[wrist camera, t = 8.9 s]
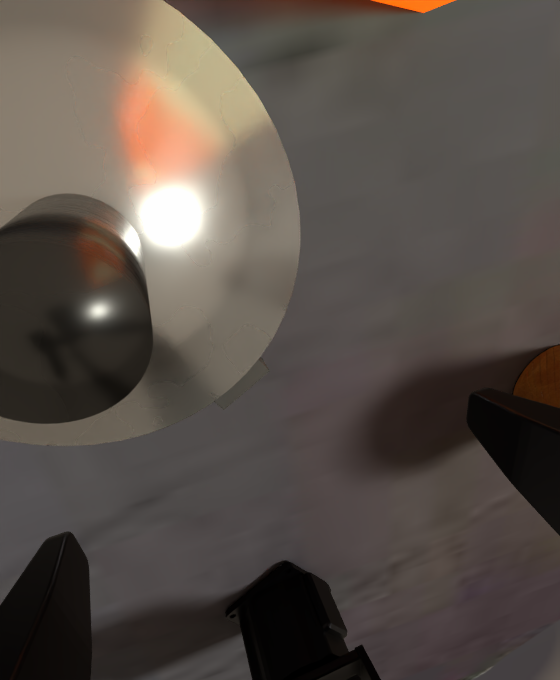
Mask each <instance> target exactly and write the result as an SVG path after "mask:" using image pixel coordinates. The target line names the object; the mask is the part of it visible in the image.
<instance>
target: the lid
mask: <svg viewBox="0 0 560 680" xmlns="http://www.w3.org/2000/svg"><path fill="white" fill-rule="evenodd" d="M299 251H300V214H299V207H298V200H297V194H296V187H295V183H294V180H293V176H292V172H291V169H290V165H289V161H288V158H287V155H286V153H285V150H284V148H283V145H282V143H281V140H280V138H279V136H278V133H277V131H276V128H275V126H274V124H273V123H272V121H271V119H270V117H269V115H268V114H267V112H266V110H265V108H264V106H263V104H262V103H261V101H260V99H259V97H258V96H257V94H256V93H255V92H254V90H253V89H252V88H251V86H250V85H249V83H248V82H247V81H246V79H245V78H244V76H243V75H242V74H241V72H240V71H239V69H238V68H237V67H236V66H235V65H234V64H233V62H232V61H231V60H230V59H229V58H228V57H227V56H226V55H225V54H224V53H223V52H222V50H221V49H220V48H219V47H218V46H217V45H216V44H215V43H214V42H213V41H212V40H211V38H209V37H208V36H207V35H206V34H205V33H204V32H202V31H201V30H200V29H199V28H198V27H197V26H195V25H194V24H193V23H192V22H191V21H190V20H188V19H187V18H186V17H185V16H184V15H183V14H181V13H180V12H179V11H178V10H176V9H175V8H173V7H172V6H170V5H169V4H167V3H166V2H164V1H163V0H0V439H1V440H5V441H12V442H20V443H27V444H34V445H53V446H76V445H94V444H101V443H108V442H115V441H121V440H125V439H129V438H133V437H137V436H141V435H145V434H148V433H151V432H154V431H157V430H159V429H162V428H165V427H168V426H170V425H172V424H174V423H177V422H179V421H181V420H183V419H185V418H187V417H189V416H191V415H193V414H195V413H196V412H198V411H200V410H201V409H203V408H205V407H206V406H208V405H210V404H211V403H212V402H214V401H215V400H216V399H218V398H219V397H220V396H222V395H223V394H224V393H226V392H227V391H228V390H229V389H231V388H232V387H233V386H234V385H235V384H236V383H237V382H238V381H239V380H240V379H241V378H242V377H243V376H244V375H245V374H246V373H247V372H248V371H249V370H250V368H251V367H252V366H253V365H254V364H255V363H256V361H257V360H258V359H259V358H260V357H261V355H262V354H263V352H264V351H265V349H266V348H267V346H268V345H269V343H270V341H271V340H272V338H273V337H274V335H275V333H276V331H277V329H278V327H279V325H280V323H281V321H282V319H283V317H284V315H285V312H286V309H287V306H288V304H289V301H290V298H291V295H292V292H293V288H294V283H295V279H296V274H297V270H298V262H299Z"/></svg>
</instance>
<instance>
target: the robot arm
mask: <svg viewBox="0 0 560 680" xmlns="http://www.w3.org/2000/svg"><path fill="white" fill-rule="evenodd" d="M467 424H468V427H469V428H470V430H471V431H472V433H473V434H474V435H475V437H476V438H477V439H478V441H479V442H480V443H481V445H482V446H483V447H484V448H485V450H486V451H487V452H488V454H489V455H490V456H491V458H492V459H493V460H494V462H495V463H496V464H497V465H498V467H499V468H500V469H501V471H502V472H503V473H504V475H505V476H506V477H507V478H508V480H509V481H510V482H511V483H512V484H513V485H514V487H515V488H516V489H517V490H518V491H519V492H520V493H521V494H522V495H523V496H524V498H525V499H526V500H527V501H528V502H529V503H530V504H531V505H532V506H533V507H534V508H535V510H536V511H537V512H538V513H539V514H540V515H541V516H542V517H543V518H544V519H545V520H546V521H547V523H548V524H549V525H550V526H551V527H552V528H553V529H554V530H555V531H556V532H557V533H558V534H559V536H560V408H558V407H554V406H551V405H547V404H544V403H540V402H537V401H533V400H530V399H526V398H523V397H519V396H515V395H512V394H508V393H505V392H501V391H498V390H494V389H491V388H483V389H480V390H477V391H474V392H472V393H471V394H470V396H469V400H468V409H467ZM225 613H226V618H227V620H229V621H231V622H234V623H236V624H239V625H240V627H241V632H242V636H243V641H244V645H245V650H246V654H247V658H248V663H249V667H250V672H251V676H252V680H381V679H380V677H379V675H378V674H377V672H376V670H375V668H374V666H373V664H372V662H371V660H370V659H369V657H368V655H367V653H366V651H365V649H364V647H363V646H362V645H360V646H358V647H355V650H353V651H351V652H349V651H348V649H347V646H346V644H345V642H344V638H345V637H346V636H347V629H346V627H345V625H344V622H343V620H342V618H341V615H340V613H339V611H338V609H337V606H336V604H335V602H334V599H333V597H332V595H331V589H330V587H329V585H328V584H327V583H326V582H325V581H323V580H322V579H320V578H318V577H317V576H315V575H313V574H312V573H309V572H306V571H305V570H303V569H301V568H300V567H298V566H296V565H295V564H293V563H291V562H286V563H284V564H283V565H281V566H280V567H279V568H278V569H276V570H275V571H274V572H273V573H272V574H270V575H269V576H268V577H267V578H265V579H264V580H263V581H262V582H260V583H259V584H258V585H257V586H256V587H254V588H253V589H252V590H251V591H249V592H248V593H247V594H246V595H244V596H243V597H242V598H241V599H240V600H238V601H237V602H236V603H235V604H233V605H232V606H231V607H230V608H228V609H227V610H226V612H225ZM91 659H92V637H91V609H90V581H89V565H88V560H87V557H86V555H85V554H84V552H83V550H82V548H81V547H80V545H79V543H78V542H77V540H76V538H75V536H74V535H73V534H72V533H71V532H64V533H61V534H58V535H55V536H52V537H49V538H48V539H46V540H45V541H44V543H43V544H42V545H41V547H40V548H39V550H38V551H37V553H36V554H35V556H34V557H33V558H32V560H31V561H30V563H29V564H28V566H27V567H26V569H25V570H24V572H23V573H22V574H21V576H20V577H19V579H18V580H17V582H16V583H15V585H14V586H13V588H12V589H11V590H10V592H9V593H8V595H7V596H6V598H5V599H4V601H3V602H2V604H1V605H0V680H90V676H91Z"/></svg>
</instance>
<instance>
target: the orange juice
mask: <svg viewBox="0 0 560 680" xmlns="http://www.w3.org/2000/svg"><path fill="white" fill-rule="evenodd" d="M372 1H376V2H381V3H385V4H389V5H393V6H397V7H401V8H405V9H410V10H414V11H418V12H422V13H424V12H427V11H429V10H432V9H434V8H437V7H440V6H442V5H445V4H447V3H450V2H452V1H455V0H372Z"/></svg>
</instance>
